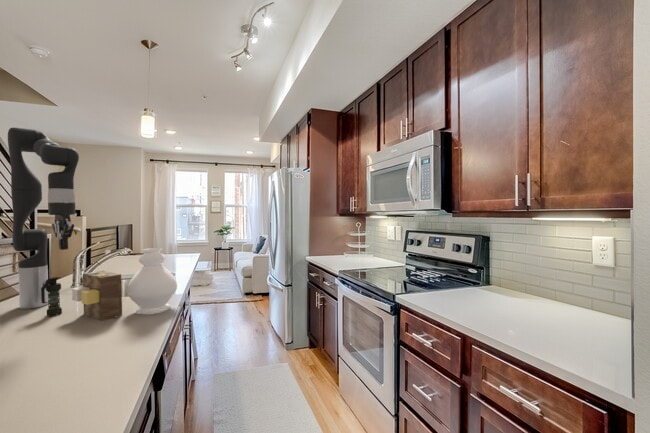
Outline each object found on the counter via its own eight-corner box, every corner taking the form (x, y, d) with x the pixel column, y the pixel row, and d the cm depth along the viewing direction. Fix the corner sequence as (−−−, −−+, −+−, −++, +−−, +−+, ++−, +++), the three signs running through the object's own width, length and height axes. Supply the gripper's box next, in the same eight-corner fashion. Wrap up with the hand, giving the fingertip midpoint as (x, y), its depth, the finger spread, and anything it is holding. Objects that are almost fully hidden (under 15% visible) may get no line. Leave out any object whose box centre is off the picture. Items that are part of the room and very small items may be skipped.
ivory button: (72, 300, 119) (72, 288, 119) (90, 296, 124) (90, 285, 124) (77, 301, 117) (77, 290, 116) (95, 297, 122) (95, 286, 122)
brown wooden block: (83, 314, 123) (82, 273, 123) (103, 309, 129) (102, 270, 129) (101, 320, 115) (100, 277, 115) (122, 315, 121) (121, 273, 121)
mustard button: (81, 303, 115) (81, 291, 115) (100, 299, 120) (99, 287, 120) (87, 304, 112) (86, 292, 112) (105, 300, 118) (105, 289, 117)
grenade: (48, 318, 119) (47, 279, 118) (36, 317, 120) (34, 278, 120) (66, 312, 125) (64, 275, 125) (53, 311, 126) (52, 275, 126)
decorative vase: (177, 312, 124) (176, 249, 123) (125, 319, 116) (123, 253, 116) (177, 300, 140) (175, 245, 139) (130, 306, 132) (129, 248, 132)
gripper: (41, 202, 112) (43, 249, 113) (56, 201, 106) (58, 252, 106) (66, 202, 119) (68, 247, 119) (82, 201, 112) (84, 249, 113)
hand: (63, 249), depth 113 cm, fingers closed
